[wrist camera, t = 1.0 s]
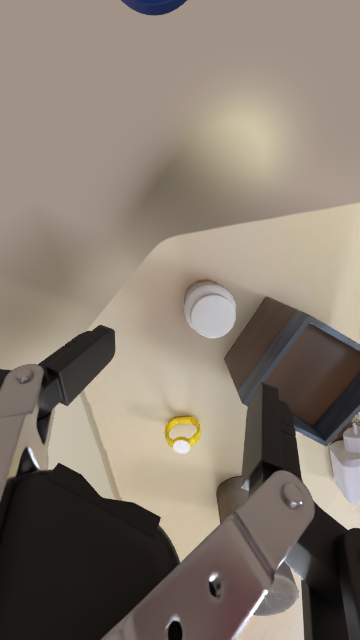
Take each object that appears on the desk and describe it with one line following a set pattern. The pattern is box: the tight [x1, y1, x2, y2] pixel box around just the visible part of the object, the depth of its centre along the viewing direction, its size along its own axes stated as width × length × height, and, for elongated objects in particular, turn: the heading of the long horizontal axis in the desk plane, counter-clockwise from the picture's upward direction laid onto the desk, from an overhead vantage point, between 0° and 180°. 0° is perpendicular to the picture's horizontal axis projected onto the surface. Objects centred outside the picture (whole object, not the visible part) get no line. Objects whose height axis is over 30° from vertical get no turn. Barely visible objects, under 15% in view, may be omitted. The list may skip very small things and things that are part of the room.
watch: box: [165, 416, 201, 454], centre depth 35 cm, size 6×3×6 cm, turn 99°
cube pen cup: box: [224, 297, 360, 446], centre depth 29 cm, size 12×12×12 cm
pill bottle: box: [184, 280, 236, 338], centre depth 27 cm, size 6×6×11 cm
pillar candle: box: [217, 477, 299, 616], centre depth 36 cm, size 10×10×15 cm
